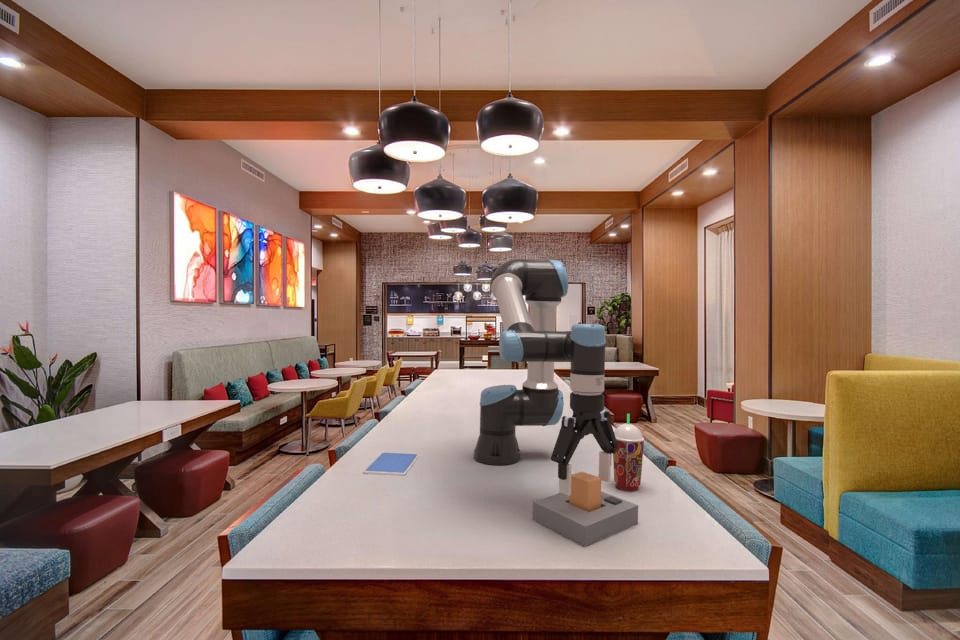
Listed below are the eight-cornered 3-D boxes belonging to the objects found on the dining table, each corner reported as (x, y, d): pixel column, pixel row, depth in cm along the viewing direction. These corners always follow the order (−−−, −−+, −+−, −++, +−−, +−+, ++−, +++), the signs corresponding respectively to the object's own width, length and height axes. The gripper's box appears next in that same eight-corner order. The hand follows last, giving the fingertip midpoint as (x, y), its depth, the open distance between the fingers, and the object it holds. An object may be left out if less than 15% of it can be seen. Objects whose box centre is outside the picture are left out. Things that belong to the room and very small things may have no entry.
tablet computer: (382, 455, 149) (382, 451, 149) (419, 457, 148) (419, 453, 148) (362, 475, 129) (362, 471, 129) (405, 477, 128) (405, 473, 128)
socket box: (532, 519, 101) (533, 499, 101) (584, 500, 112) (585, 482, 112) (585, 546, 89) (585, 524, 89) (637, 523, 100) (638, 503, 100)
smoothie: (645, 494, 117) (647, 417, 117) (612, 491, 119) (613, 416, 119) (640, 483, 125) (642, 411, 125) (610, 480, 127) (611, 410, 127)
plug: (568, 519, 102) (569, 475, 102) (581, 514, 104) (582, 471, 104) (587, 528, 97) (588, 482, 97) (600, 522, 100) (601, 478, 100)
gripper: (561, 400, 90) (559, 505, 90) (634, 390, 105) (632, 480, 105) (535, 394, 96) (533, 493, 96) (607, 386, 111) (606, 471, 111)
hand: (585, 487), depth 101 cm, fingers open, 13 cm apart
